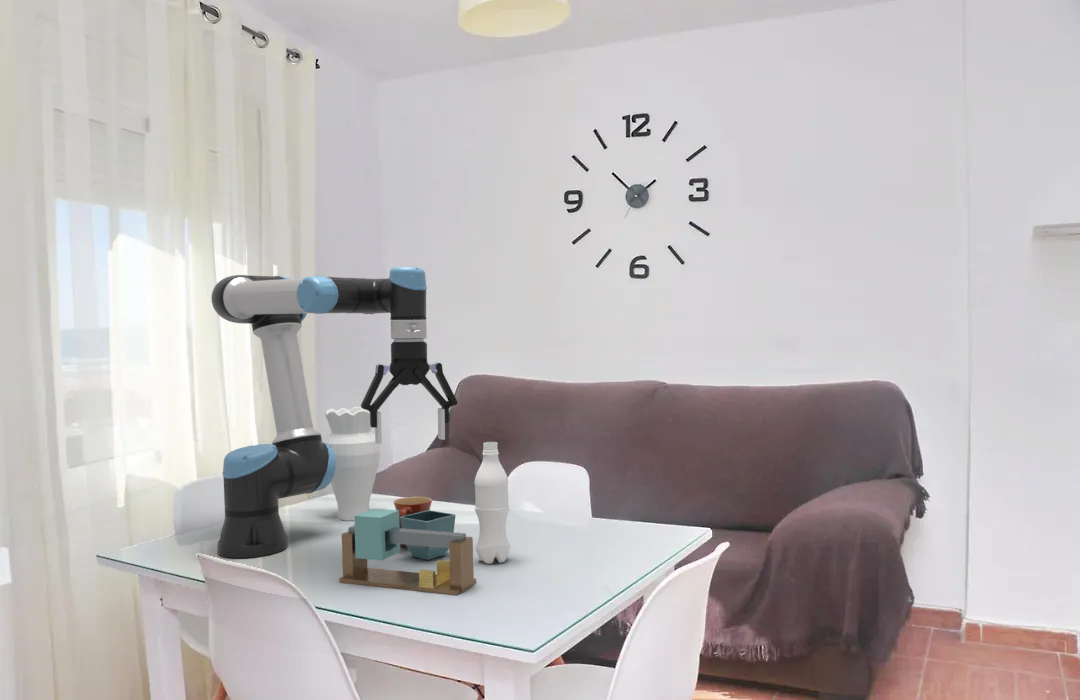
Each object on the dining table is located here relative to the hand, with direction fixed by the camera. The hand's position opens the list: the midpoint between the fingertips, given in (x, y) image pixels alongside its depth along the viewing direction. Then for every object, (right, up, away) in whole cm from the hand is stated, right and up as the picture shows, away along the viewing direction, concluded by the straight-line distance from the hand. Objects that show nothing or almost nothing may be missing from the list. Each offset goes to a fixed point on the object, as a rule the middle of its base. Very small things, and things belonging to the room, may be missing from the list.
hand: (410, 441), depth 175 cm
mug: (-2, -26, +13) cm, 29 cm away
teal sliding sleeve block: (-5, -18, -12) cm, 22 cm away
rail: (+2, -26, -14) cm, 30 cm away
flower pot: (+3, -26, +5) cm, 26 cm away
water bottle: (+18, -26, 0) cm, 31 cm away
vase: (-22, -26, +45) cm, 56 cm away
